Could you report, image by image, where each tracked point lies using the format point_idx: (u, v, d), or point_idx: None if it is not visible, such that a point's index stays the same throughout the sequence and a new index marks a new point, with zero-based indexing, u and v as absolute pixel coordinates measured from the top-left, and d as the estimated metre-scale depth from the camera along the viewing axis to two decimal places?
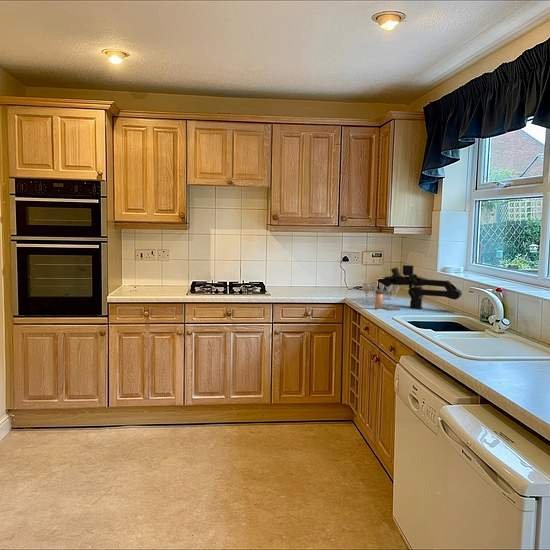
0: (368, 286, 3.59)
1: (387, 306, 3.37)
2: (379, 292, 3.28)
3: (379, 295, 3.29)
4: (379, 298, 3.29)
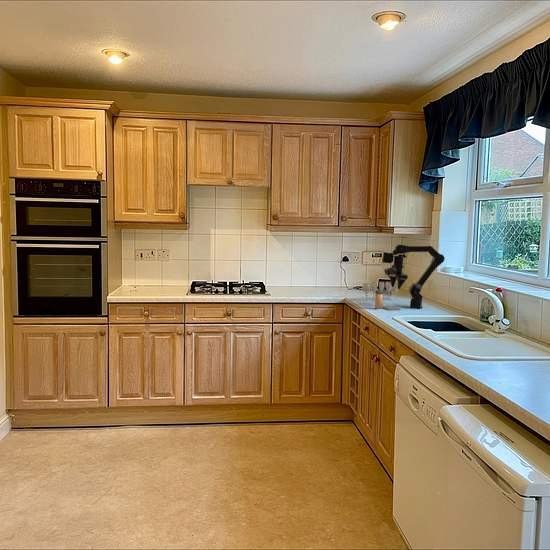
0: (368, 286, 3.59)
1: (387, 306, 3.37)
2: (379, 292, 3.28)
3: (379, 295, 3.29)
4: (379, 298, 3.29)
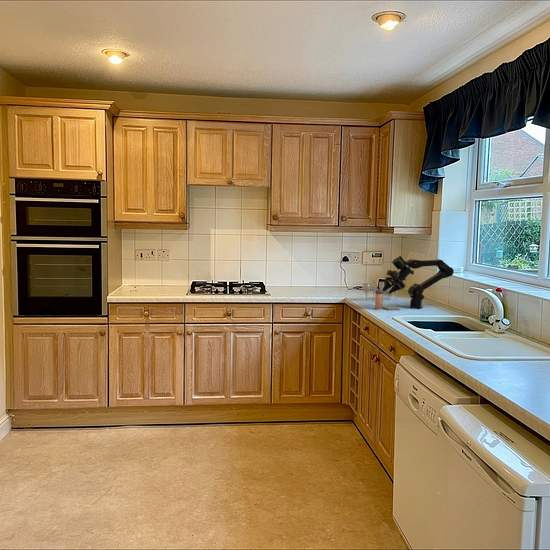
0: (368, 286, 3.59)
1: (387, 306, 3.37)
2: (379, 292, 3.28)
3: (379, 295, 3.29)
4: (379, 298, 3.29)
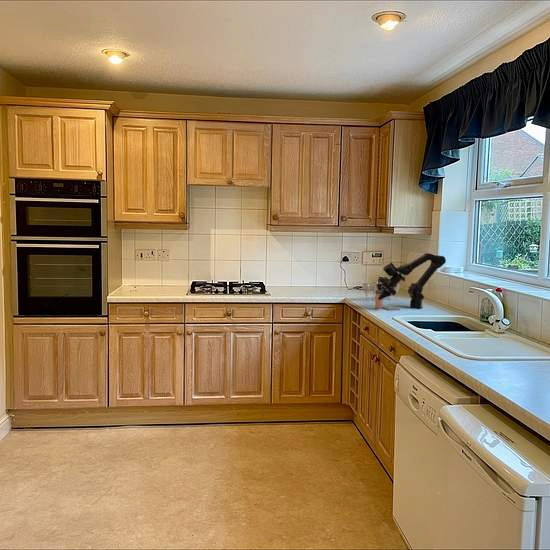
0: (368, 286, 3.59)
1: (387, 306, 3.37)
2: (379, 292, 3.28)
3: (379, 295, 3.29)
4: None
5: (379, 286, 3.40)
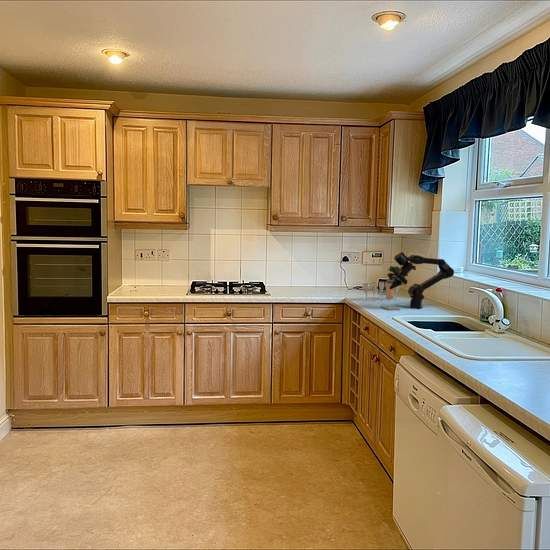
0: (368, 286, 3.59)
1: (387, 306, 3.37)
2: (390, 281, 3.29)
3: (390, 284, 3.30)
4: None
5: (390, 276, 3.40)
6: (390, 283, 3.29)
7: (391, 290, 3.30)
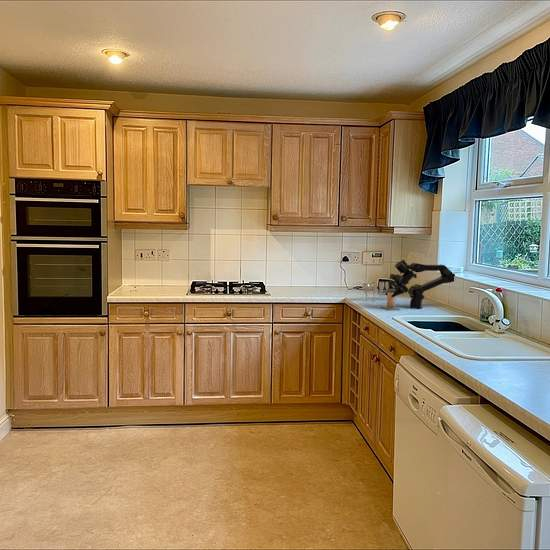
0: (368, 286, 3.59)
1: None
2: (391, 290, 3.30)
3: (391, 293, 3.30)
4: None
5: None
6: (391, 292, 3.30)
7: (392, 299, 3.31)
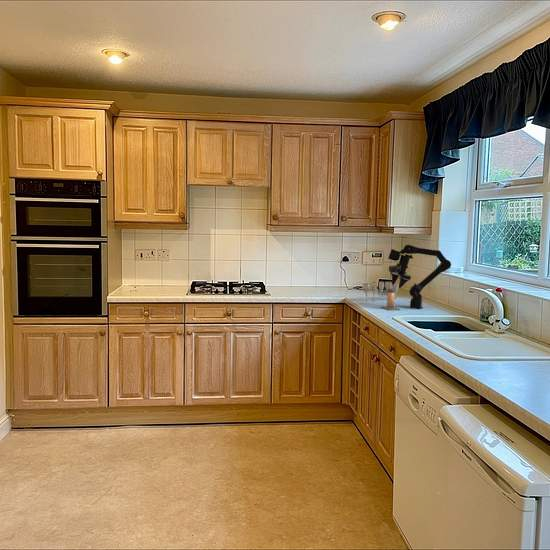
0: (368, 286, 3.59)
1: None
2: (391, 290, 3.30)
3: (391, 293, 3.30)
4: (391, 296, 3.31)
5: None
6: (391, 292, 3.30)
7: (392, 299, 3.31)
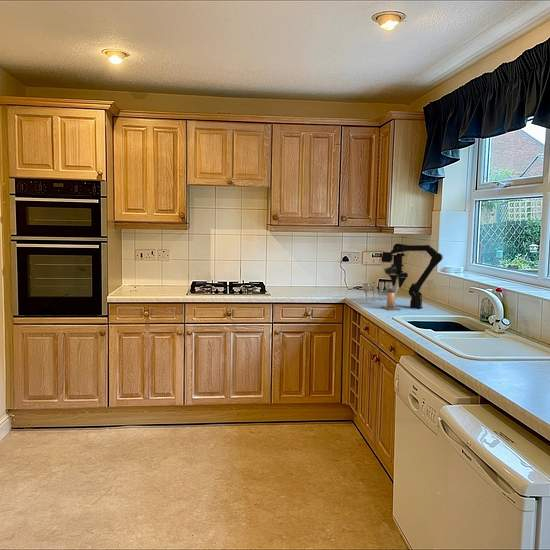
0: (368, 286, 3.59)
1: None
2: (391, 290, 3.30)
3: (391, 293, 3.30)
4: (391, 296, 3.31)
5: None
6: (391, 292, 3.30)
7: (392, 299, 3.31)
